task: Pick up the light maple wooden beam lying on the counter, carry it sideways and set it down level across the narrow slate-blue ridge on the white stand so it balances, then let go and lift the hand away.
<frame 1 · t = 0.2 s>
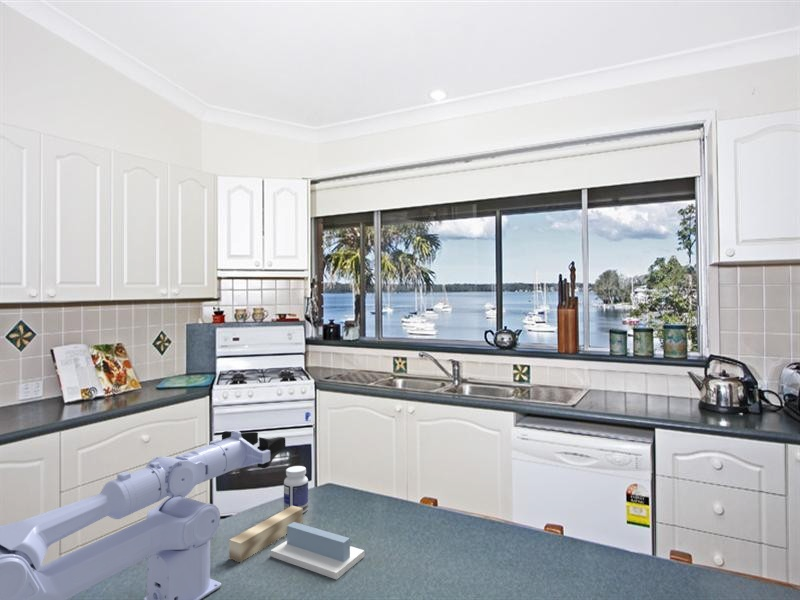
hand: (270, 439, 98), 21 cm above the countertop, tool horizontal, fingers open, 7 cm apart
ridge stand: (317, 556, 93), on the countertop
beam: (268, 542, 99), on the countertop
pill bottle: (296, 511, 114), on the countertop
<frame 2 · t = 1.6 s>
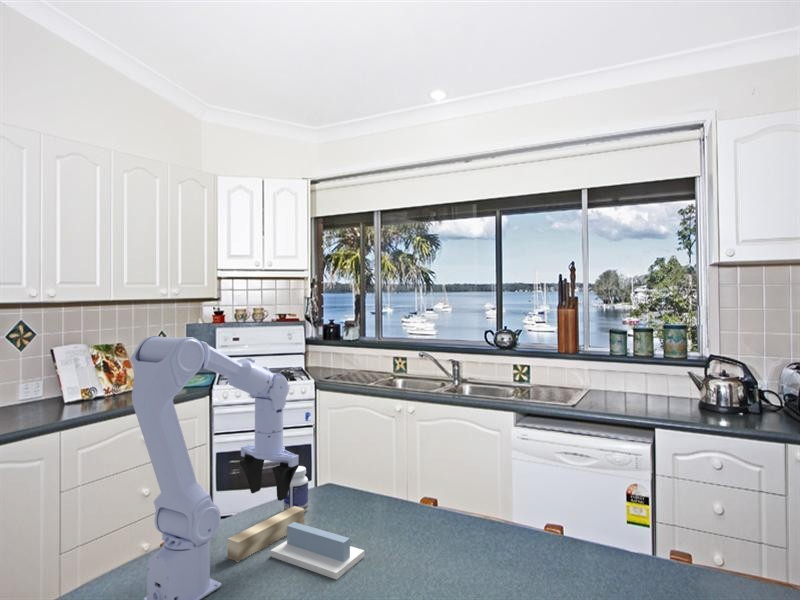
hand: (268, 495, 99), 9 cm above the countertop, tool pointing down, fingers open, 7 cm apart
nothing on the countertop moved.
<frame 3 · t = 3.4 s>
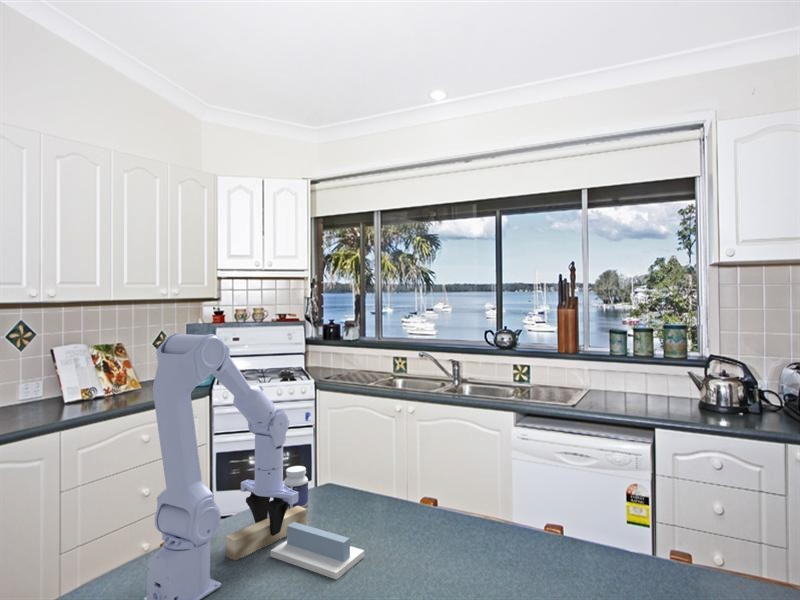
hand: (268, 531, 99), 2 cm above the countertop, tool pointing down, fingers closed on beam, 3 cm apart
beam: (268, 540, 99), on the countertop, touching gripper
everything else where it was.
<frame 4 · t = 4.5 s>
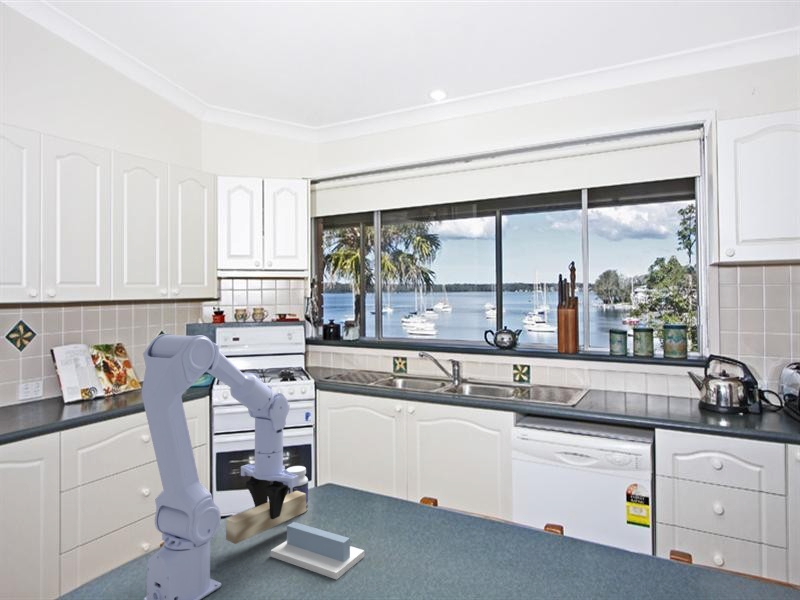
hand: (268, 515, 99), 5 cm above the countertop, tool pointing down, fingers closed on beam, 3 cm apart
beam: (268, 524, 99), point 3 cm above the countertop, touching gripper
everything else where it was.
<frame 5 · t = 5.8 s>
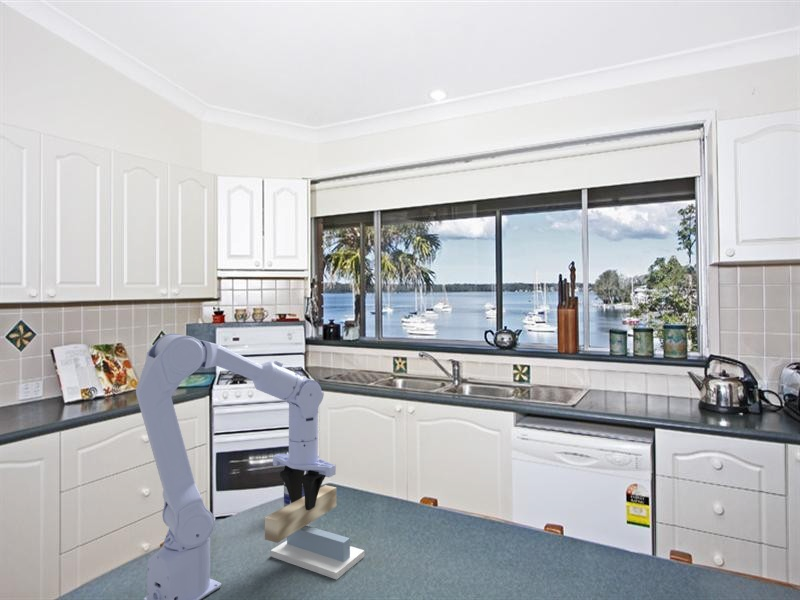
hand: (303, 506, 95), 9 cm above the countertop, tool pointing down, fingers closed on beam, 3 cm apart
beam: (303, 521, 95), point 6 cm above the countertop, touching gripper
everything else where it was.
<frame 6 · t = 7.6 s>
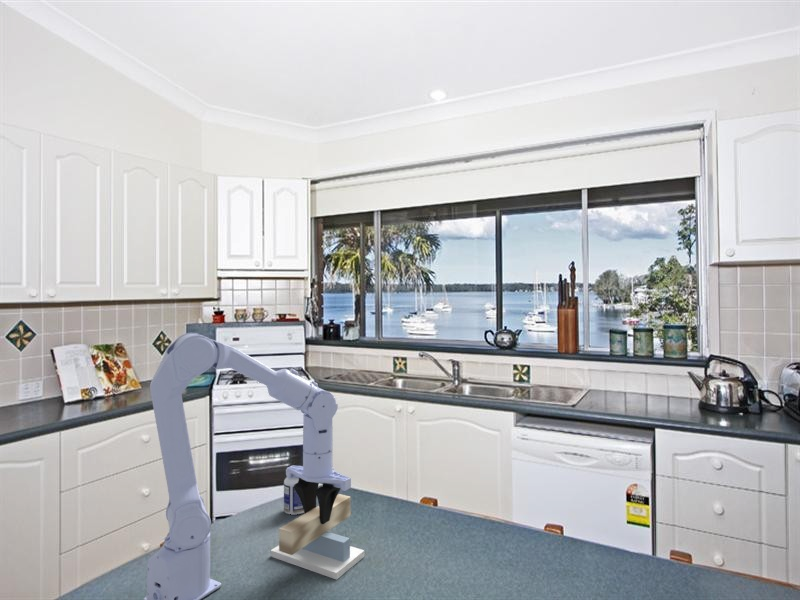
hand: (317, 519, 93), 7 cm above the countertop, tool pointing down, fingers closed on beam, 3 cm apart
beam: (317, 531, 93), point 5 cm above the countertop, touching gripper, ridge stand
everything else where it was.
when the fingers open (7 cm above the countertop, at t = 7.6 s): beam stays where it is, resting on ridge stand.
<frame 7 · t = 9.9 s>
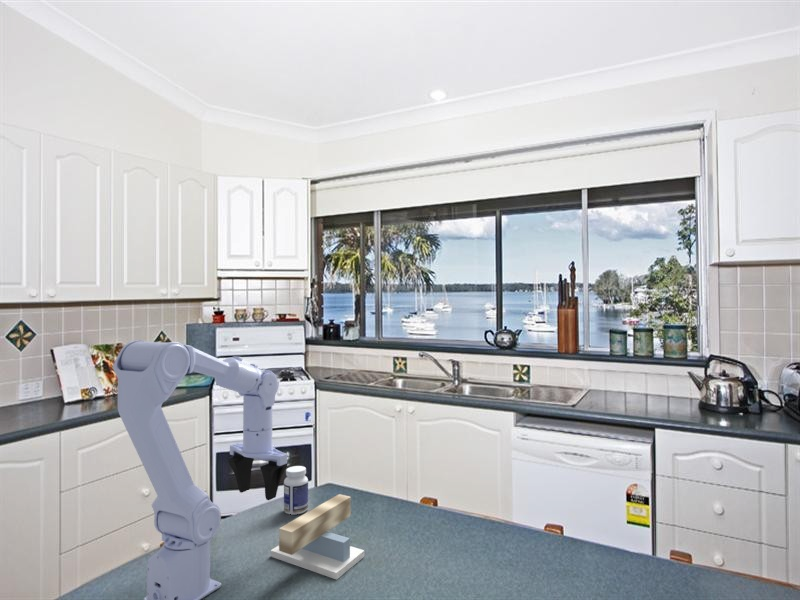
hand: (257, 494, 97), 10 cm above the countertop, tool pointing down, fingers open, 7 cm apart
beam: (317, 531, 93), point 5 cm above the countertop, touching ridge stand
everything else where it was.
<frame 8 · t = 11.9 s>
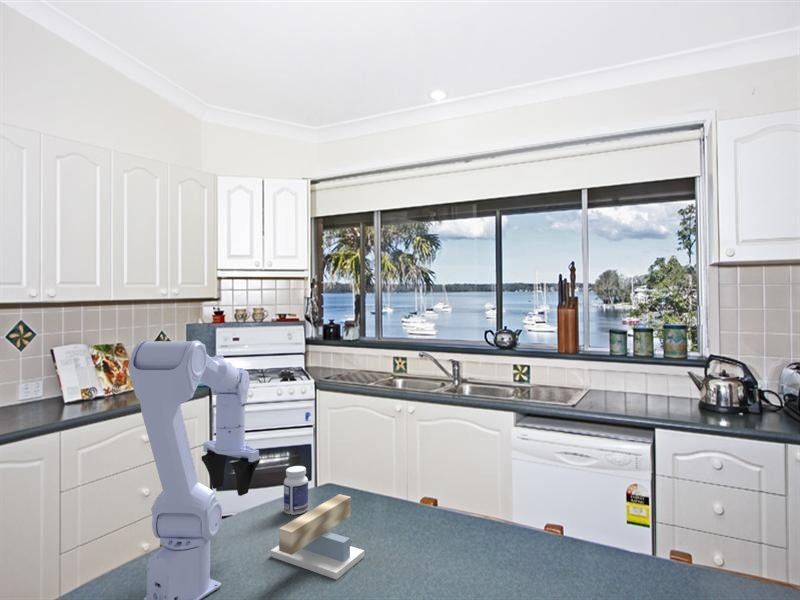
hand: (230, 490, 99), 10 cm above the countertop, tool pointing down, fingers open, 7 cm apart
nothing on the countertop moved.
at the end: beam 0.0 cm off-centre on the ridge stand, point 4.8 cm above the ridge stand's base; beam tilted 0°; the gripper is holding nothing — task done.
